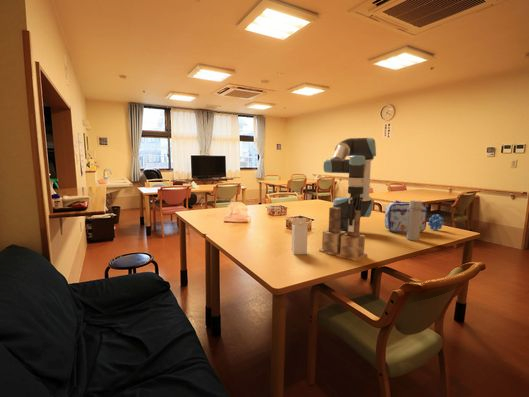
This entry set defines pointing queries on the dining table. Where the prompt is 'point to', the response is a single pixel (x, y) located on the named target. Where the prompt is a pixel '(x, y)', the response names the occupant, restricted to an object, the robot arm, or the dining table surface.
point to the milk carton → (299, 236)
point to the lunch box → (401, 216)
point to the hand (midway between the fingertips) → (353, 230)
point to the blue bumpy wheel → (435, 222)
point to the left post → (334, 219)
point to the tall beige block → (414, 220)
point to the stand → (343, 245)
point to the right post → (355, 225)
